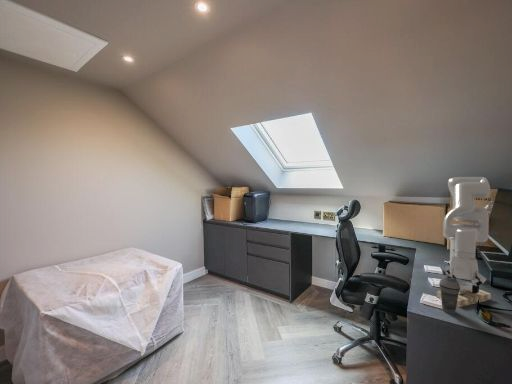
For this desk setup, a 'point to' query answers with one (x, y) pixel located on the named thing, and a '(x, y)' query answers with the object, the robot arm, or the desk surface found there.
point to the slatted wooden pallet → (470, 298)
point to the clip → (465, 288)
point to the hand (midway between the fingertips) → (463, 288)
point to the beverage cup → (449, 293)
